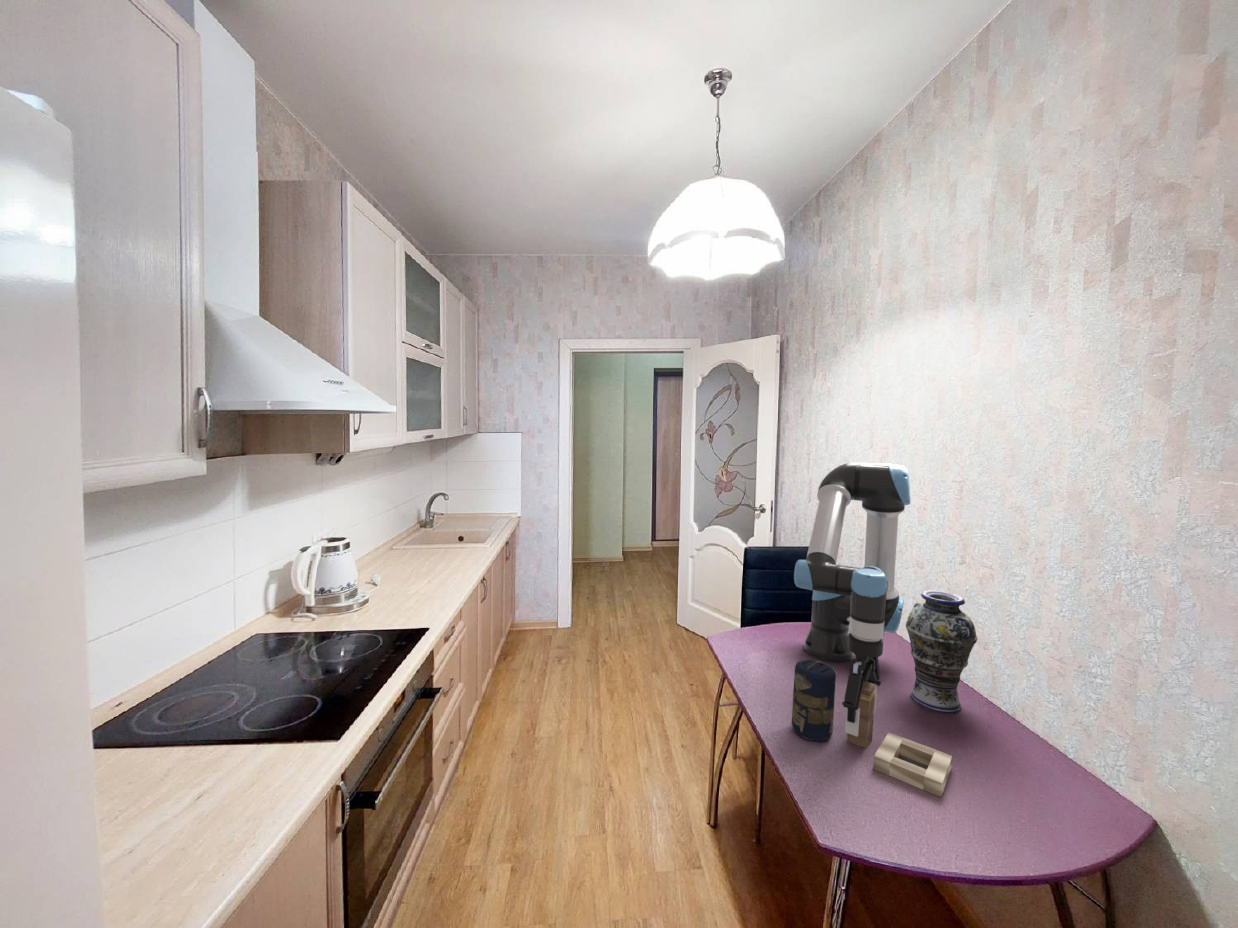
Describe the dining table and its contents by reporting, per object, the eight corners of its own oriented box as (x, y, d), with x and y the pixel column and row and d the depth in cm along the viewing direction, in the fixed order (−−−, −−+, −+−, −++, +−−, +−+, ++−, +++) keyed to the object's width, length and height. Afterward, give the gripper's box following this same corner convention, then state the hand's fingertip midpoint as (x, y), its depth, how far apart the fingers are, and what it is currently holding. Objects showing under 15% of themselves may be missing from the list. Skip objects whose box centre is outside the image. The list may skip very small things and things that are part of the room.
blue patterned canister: (783, 725, 132) (786, 656, 130) (814, 718, 135) (817, 651, 134) (808, 747, 123) (812, 673, 121) (841, 740, 126) (845, 668, 125)
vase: (943, 724, 134) (952, 610, 131) (886, 691, 149) (893, 589, 147) (987, 712, 140) (996, 602, 137) (927, 682, 156) (934, 583, 153)
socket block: (887, 744, 125) (888, 732, 125) (951, 768, 116) (952, 755, 116) (873, 768, 116) (873, 755, 116) (941, 797, 107) (942, 783, 107)
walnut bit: (852, 732, 129) (855, 677, 128) (872, 740, 126) (875, 684, 125) (846, 740, 126) (849, 684, 125) (866, 748, 123) (870, 691, 122)
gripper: (864, 617, 136) (860, 695, 138) (831, 647, 117) (826, 737, 119) (896, 625, 131) (891, 706, 133) (866, 657, 112) (861, 751, 114)
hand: (860, 721), depth 126 cm, fingers open, 13 cm apart
